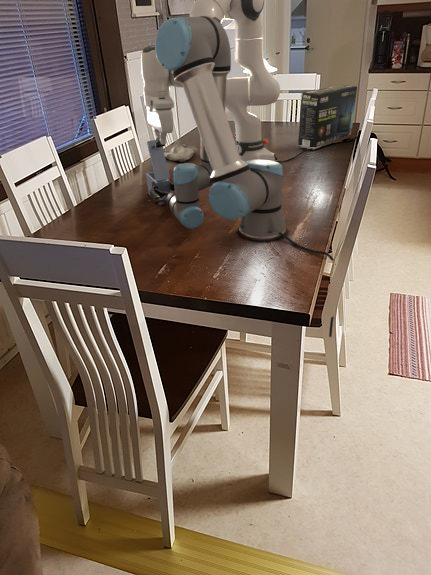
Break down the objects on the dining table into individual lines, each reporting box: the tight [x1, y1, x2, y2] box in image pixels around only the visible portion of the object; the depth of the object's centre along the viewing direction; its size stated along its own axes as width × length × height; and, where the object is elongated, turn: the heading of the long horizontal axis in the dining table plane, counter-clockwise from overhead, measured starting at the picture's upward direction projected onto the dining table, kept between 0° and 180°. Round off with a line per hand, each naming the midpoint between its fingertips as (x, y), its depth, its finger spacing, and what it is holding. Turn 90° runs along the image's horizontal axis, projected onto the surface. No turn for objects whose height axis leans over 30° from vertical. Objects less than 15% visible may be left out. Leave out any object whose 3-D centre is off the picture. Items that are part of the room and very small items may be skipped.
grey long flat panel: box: [146, 139, 171, 181], centre depth 166 cm, size 14×5×8 cm
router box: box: [297, 84, 358, 151], centre depth 238 cm, size 36×11×27 cm, turn 134°
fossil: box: [163, 142, 199, 163], centre depth 229 cm, size 18×11×15 cm
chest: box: [145, 171, 172, 206], centre depth 179 cm, size 14×5×9 cm, turn 24°
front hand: (160, 184), depth 175 cm, fingers closed on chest, 5 cm apart
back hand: (161, 142), depth 160 cm, fingers open, 4 cm apart
